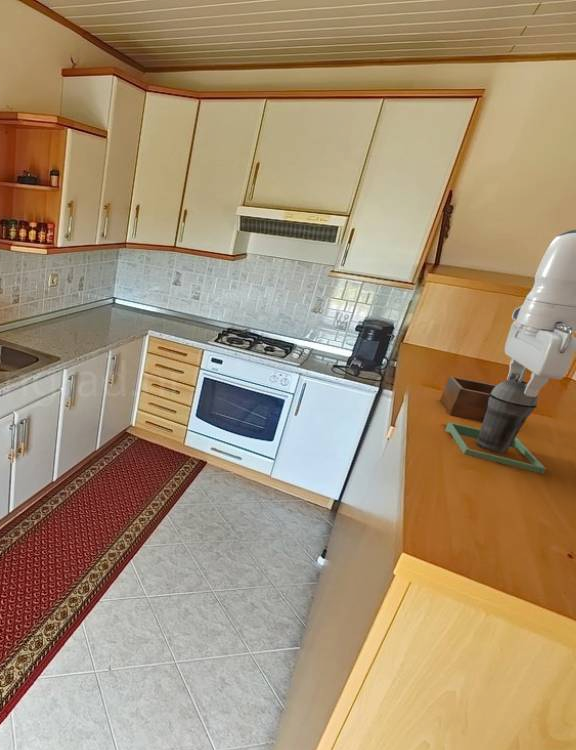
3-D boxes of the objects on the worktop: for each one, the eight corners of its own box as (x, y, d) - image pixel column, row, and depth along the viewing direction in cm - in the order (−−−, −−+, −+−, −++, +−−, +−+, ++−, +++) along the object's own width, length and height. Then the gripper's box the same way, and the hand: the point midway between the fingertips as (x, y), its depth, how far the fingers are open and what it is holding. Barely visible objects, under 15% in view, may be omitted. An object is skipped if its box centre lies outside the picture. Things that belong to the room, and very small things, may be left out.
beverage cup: (468, 451, 99) (509, 358, 92) (465, 440, 104) (503, 351, 98) (514, 464, 95) (561, 368, 88) (508, 452, 101) (551, 360, 94)
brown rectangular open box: (497, 412, 127) (508, 387, 124) (513, 429, 116) (525, 402, 114) (439, 400, 132) (449, 375, 129) (449, 414, 121) (460, 388, 119)
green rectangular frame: (512, 448, 104) (517, 437, 104) (540, 480, 91) (546, 468, 90) (444, 432, 109) (448, 421, 108) (460, 460, 96) (465, 449, 95)
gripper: (599, 331, 80) (563, 408, 85) (551, 313, 97) (523, 378, 102) (550, 324, 83) (517, 400, 87) (511, 308, 100) (486, 372, 105)
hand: (520, 388), depth 95 cm, fingers open, 8 cm apart
